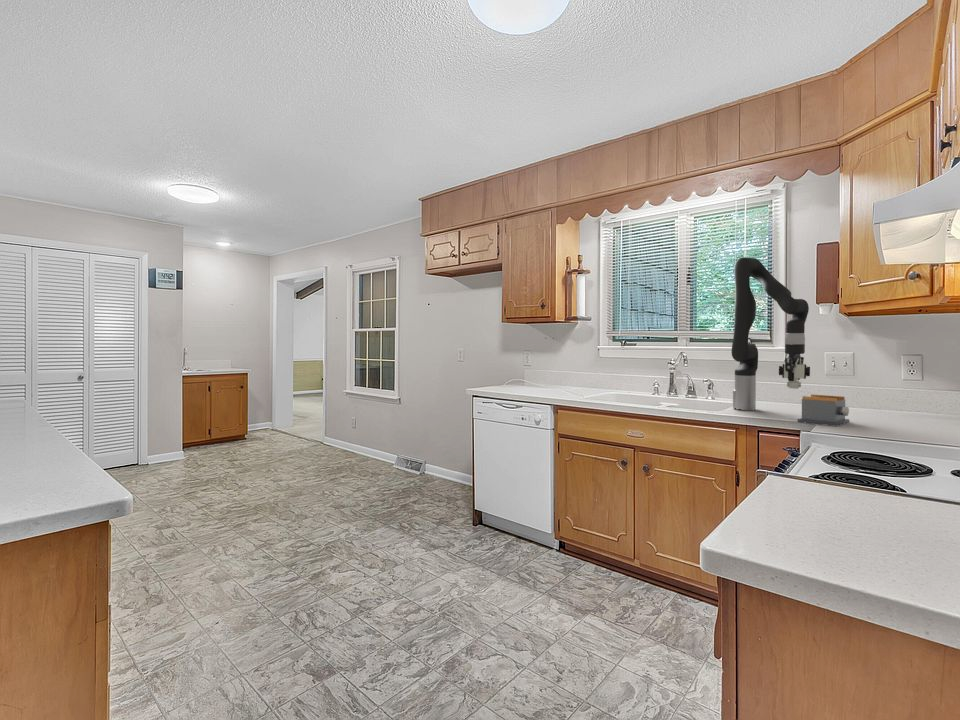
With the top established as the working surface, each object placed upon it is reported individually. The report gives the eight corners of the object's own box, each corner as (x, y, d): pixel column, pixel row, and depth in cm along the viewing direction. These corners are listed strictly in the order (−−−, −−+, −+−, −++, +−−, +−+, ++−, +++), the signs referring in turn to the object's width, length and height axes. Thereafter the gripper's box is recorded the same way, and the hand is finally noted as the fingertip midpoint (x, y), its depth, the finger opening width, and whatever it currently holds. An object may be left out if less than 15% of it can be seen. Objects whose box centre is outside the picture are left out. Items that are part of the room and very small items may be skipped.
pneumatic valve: (809, 389, 211) (810, 362, 211) (778, 387, 218) (778, 361, 217) (809, 388, 216) (810, 361, 215) (779, 386, 223) (779, 361, 222)
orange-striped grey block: (797, 421, 203) (797, 396, 202) (810, 418, 211) (811, 393, 211) (840, 426, 190) (841, 399, 190) (853, 422, 198) (853, 396, 198)
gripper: (792, 342, 223) (791, 378, 224) (778, 343, 215) (777, 380, 216) (810, 342, 217) (809, 379, 218) (797, 343, 209) (796, 382, 209)
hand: (793, 380), depth 217 cm, fingers closed on pneumatic valve, 6 cm apart
